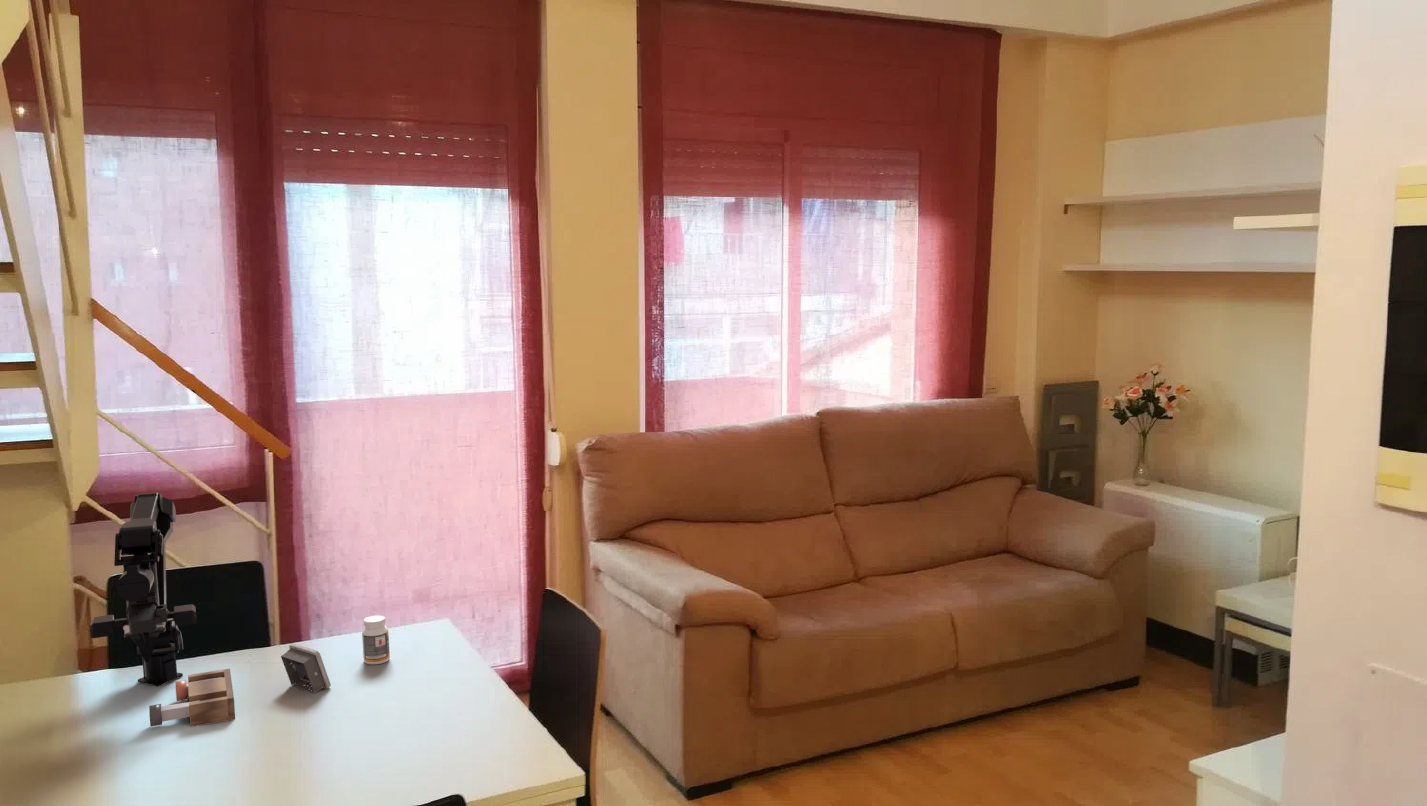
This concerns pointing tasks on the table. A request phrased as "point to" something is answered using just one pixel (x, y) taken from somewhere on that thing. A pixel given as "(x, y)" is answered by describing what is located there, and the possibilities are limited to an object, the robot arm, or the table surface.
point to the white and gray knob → (168, 712)
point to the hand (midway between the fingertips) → (147, 661)
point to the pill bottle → (375, 640)
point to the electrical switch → (305, 668)
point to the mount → (211, 697)
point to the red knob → (183, 689)
